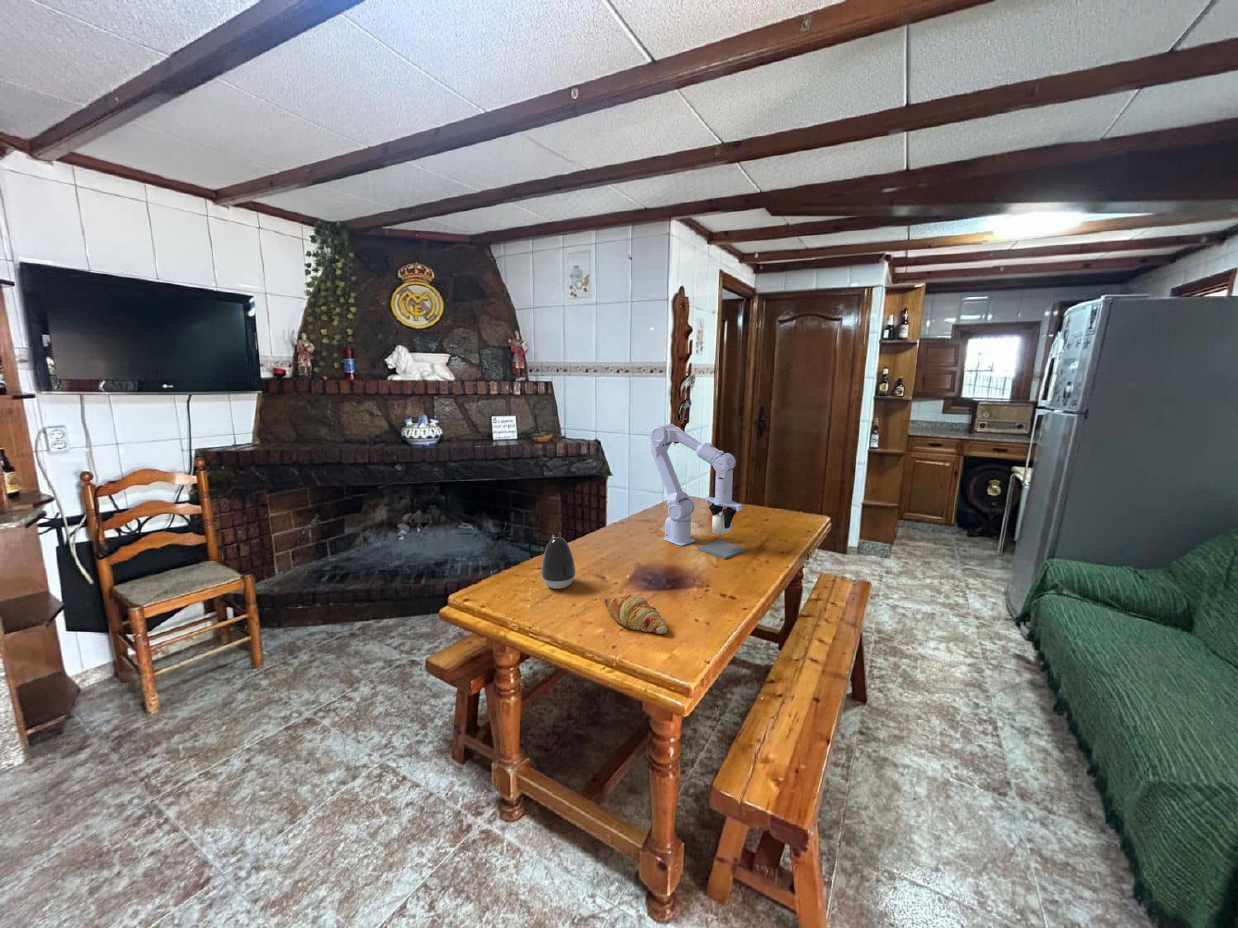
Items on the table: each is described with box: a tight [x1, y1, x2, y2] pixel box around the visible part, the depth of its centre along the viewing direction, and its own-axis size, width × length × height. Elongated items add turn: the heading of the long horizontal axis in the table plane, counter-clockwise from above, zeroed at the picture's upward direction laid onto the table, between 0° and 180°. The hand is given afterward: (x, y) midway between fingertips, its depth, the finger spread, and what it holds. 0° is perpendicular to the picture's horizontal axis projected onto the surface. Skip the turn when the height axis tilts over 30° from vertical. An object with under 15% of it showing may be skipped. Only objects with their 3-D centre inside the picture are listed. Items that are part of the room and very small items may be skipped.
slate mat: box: [697, 539, 747, 560], centre depth 177 cm, size 12×12×1 cm
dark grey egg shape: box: [541, 534, 577, 590], centre depth 150 cm, size 10×10×15 cm
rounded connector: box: [711, 511, 733, 536], centre depth 175 cm, size 4×9×7 cm, turn 130°
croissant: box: [604, 593, 668, 635], centre depth 129 cm, size 21×10×8 cm, turn 48°
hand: (722, 526), depth 176 cm, fingers closed on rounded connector, 4 cm apart
